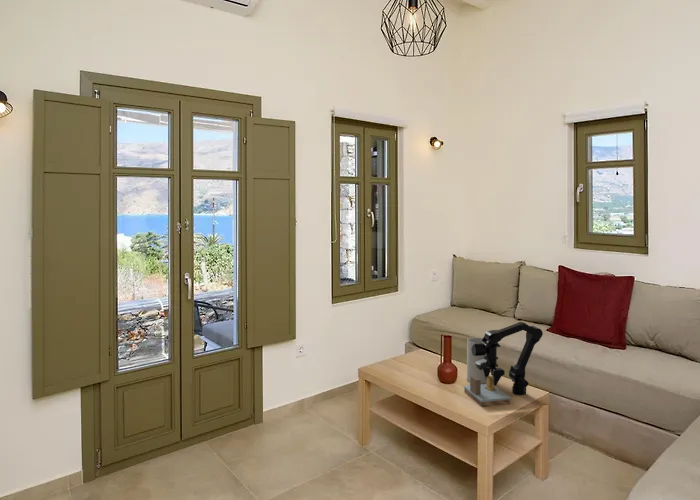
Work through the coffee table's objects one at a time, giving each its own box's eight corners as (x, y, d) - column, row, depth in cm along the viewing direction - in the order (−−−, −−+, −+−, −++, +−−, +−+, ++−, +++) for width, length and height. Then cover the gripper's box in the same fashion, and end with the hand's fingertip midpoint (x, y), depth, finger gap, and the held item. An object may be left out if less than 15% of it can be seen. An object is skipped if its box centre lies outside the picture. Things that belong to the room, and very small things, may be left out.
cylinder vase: (490, 385, 278) (491, 343, 275) (469, 385, 278) (469, 343, 276) (485, 377, 290) (485, 337, 288) (464, 377, 290) (465, 337, 288)
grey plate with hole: (491, 385, 268) (491, 369, 268) (510, 399, 248) (510, 382, 248) (464, 387, 265) (464, 371, 264) (481, 402, 245) (481, 385, 244)
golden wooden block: (491, 393, 263) (491, 376, 262) (494, 395, 259) (494, 378, 259) (486, 394, 262) (486, 376, 261) (489, 396, 259) (489, 378, 258)
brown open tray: (490, 391, 268) (490, 385, 268) (509, 405, 249) (509, 399, 249) (464, 393, 265) (464, 387, 265) (481, 408, 246) (481, 402, 245)
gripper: (469, 350, 266) (469, 377, 268) (485, 361, 248) (485, 390, 249) (488, 349, 268) (487, 376, 270) (505, 359, 250) (504, 388, 252)
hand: (490, 382), depth 260 cm, fingers open, 9 cm apart
